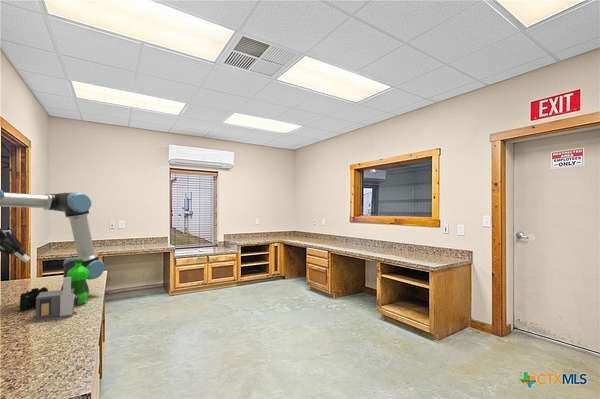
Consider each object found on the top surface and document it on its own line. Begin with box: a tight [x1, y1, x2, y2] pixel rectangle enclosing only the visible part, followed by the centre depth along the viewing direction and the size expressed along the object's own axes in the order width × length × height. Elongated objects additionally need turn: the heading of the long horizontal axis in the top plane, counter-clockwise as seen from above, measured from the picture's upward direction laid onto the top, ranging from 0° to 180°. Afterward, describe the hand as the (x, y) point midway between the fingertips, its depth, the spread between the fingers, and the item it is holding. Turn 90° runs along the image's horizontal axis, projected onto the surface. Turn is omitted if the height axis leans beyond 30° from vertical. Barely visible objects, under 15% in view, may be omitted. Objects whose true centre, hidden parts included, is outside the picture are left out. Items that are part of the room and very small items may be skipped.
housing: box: [35, 289, 80, 323], centre depth 155 cm, size 13×16×11 cm
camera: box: [19, 286, 49, 312], centre depth 166 cm, size 14×11×10 cm
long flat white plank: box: [60, 277, 74, 316], centre depth 152 cm, size 1×5×18 cm, turn 123°
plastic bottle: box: [67, 259, 89, 306], centre depth 173 cm, size 10×10×25 cm
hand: (27, 260), depth 153 cm, fingers closed
